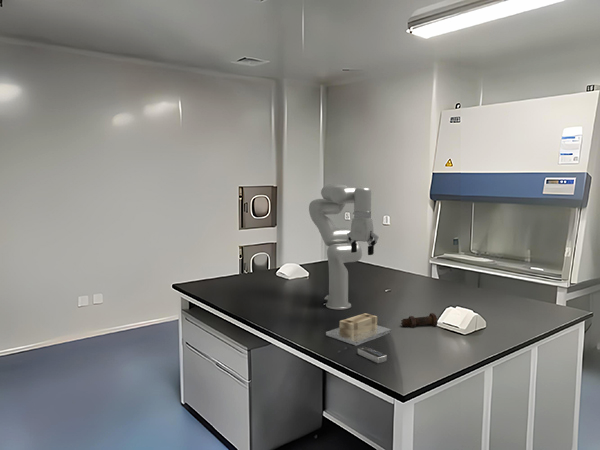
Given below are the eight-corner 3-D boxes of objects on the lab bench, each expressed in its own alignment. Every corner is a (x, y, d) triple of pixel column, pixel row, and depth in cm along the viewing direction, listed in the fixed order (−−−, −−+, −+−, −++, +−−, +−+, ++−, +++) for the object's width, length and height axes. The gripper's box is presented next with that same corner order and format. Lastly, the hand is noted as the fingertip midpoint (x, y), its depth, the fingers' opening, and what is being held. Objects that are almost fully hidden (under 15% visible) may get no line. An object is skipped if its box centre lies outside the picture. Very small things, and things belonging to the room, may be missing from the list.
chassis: (326, 335, 187) (326, 324, 186) (361, 323, 201) (361, 313, 201) (355, 345, 175) (355, 334, 174) (390, 332, 190) (391, 322, 189)
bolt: (401, 330, 198) (434, 327, 201) (405, 328, 194) (438, 324, 196) (398, 317, 201) (431, 314, 203) (402, 314, 196) (435, 311, 198)
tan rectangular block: (339, 333, 185) (339, 320, 185) (365, 324, 196) (365, 313, 195) (351, 337, 180) (351, 324, 180) (377, 328, 191) (377, 316, 190)
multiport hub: (377, 364, 158) (378, 357, 158) (357, 354, 167) (357, 348, 167) (387, 361, 161) (387, 355, 160) (366, 351, 170) (366, 345, 169)
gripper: (342, 214, 207) (342, 252, 209) (372, 217, 194) (372, 256, 196) (353, 213, 212) (353, 250, 214) (383, 216, 199) (382, 254, 201)
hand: (362, 253), depth 205 cm, fingers open, 9 cm apart
